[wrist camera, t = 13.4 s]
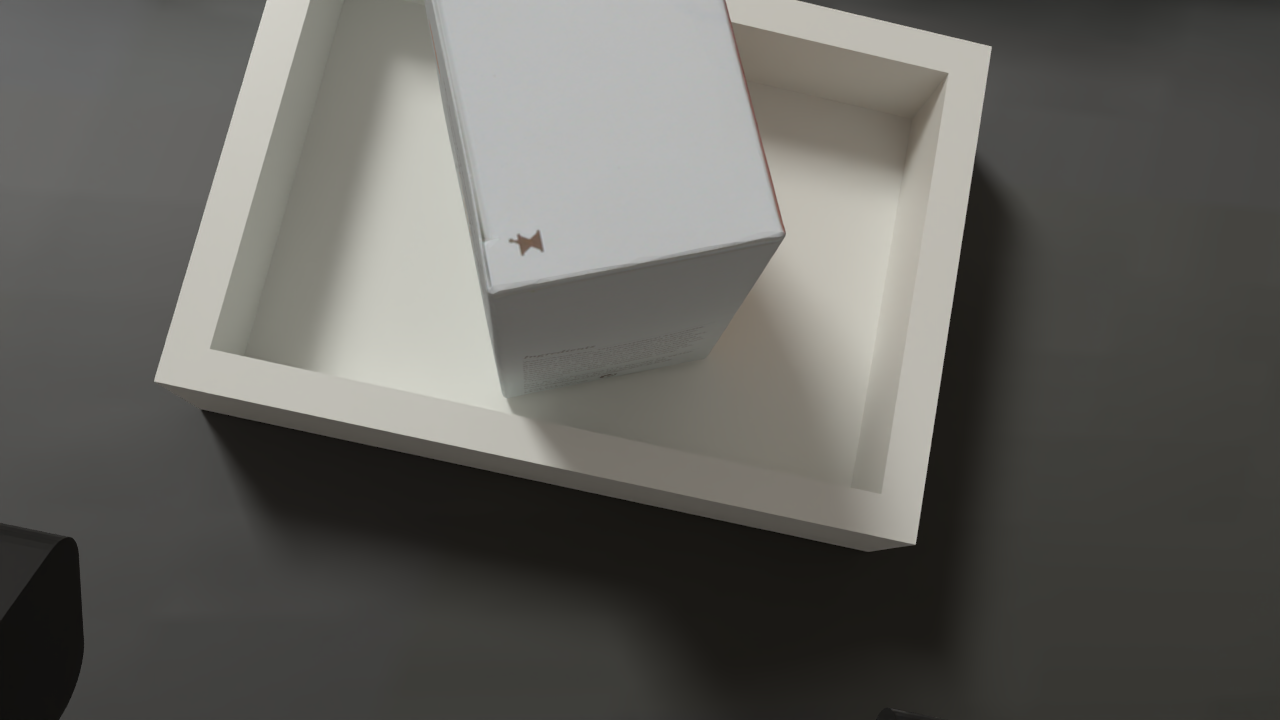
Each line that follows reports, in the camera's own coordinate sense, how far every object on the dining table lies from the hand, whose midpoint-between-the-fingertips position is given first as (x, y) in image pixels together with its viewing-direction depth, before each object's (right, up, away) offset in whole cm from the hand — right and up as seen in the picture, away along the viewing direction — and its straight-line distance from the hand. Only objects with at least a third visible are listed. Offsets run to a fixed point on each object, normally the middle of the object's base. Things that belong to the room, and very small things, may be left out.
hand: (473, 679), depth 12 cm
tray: (0, +6, +21) cm, 22 cm away
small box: (0, +6, +20) cm, 21 cm away
